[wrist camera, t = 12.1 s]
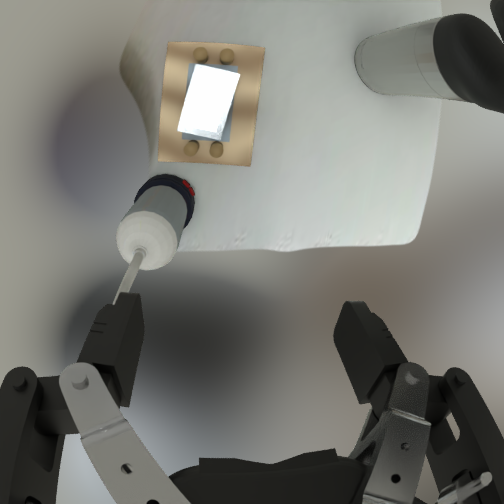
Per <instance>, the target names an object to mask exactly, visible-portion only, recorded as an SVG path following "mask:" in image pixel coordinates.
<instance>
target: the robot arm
mask: <svg viewBox="0 0 504 504" xmlns="http://www.w3.org/2000/svg"><path fill="white" fill-rule="evenodd" d="M490 9H491V12H492V15H493V18H494V21H495V23H496V25H497V28H498V30H499V33H500V35H501V38H502V40H503V41H504V0H492V1H491V3H490ZM503 43H504V42H503ZM503 43H502V41H501V40H500V39H499V37H498V36H497V35H496V33H495V32H494V31H493V30H492V29H491V28H490V27H489V26H488V25H487V24H486V23H485V22H483V21H482V20H481V19H479V18H477V17H475V16H473V15H469V14H454V15H449V16H444V17H439V18H435V19H430V20H427V21H423V22H419V23H415V24H411V25H408V26H404V27H401V28H397V29H394V30H391V31H387V32H384V33H381V34H378V35H375V36H372V37H369V38H367V39H365V40H364V41H362V42H361V43H360V44H359V46H358V48H357V50H356V54H355V64H356V69H357V71H358V74H359V76H360V78H361V79H362V81H363V82H364V83H365V84H366V85H367V86H368V87H369V88H370V89H371V90H373V91H375V92H377V93H380V94H383V95H400V96H417V97H429V98H440V99H448V100H457V101H464V102H470V103H475V104H477V105H479V106H480V107H483V108H485V109H489V110H493V111H497V112H500V113H504V44H503ZM144 334H145V325H144V318H143V310H142V303H141V296H140V294H139V293H128V292H120V293H119V295H118V298H117V300H116V302H115V305H113V304H107V305H105V307H103V308H102V309H101V310H100V311H99V312H98V314H97V316H96V318H95V320H94V324H93V325H92V327H91V329H90V332H89V334H88V336H87V338H86V341H85V343H84V346H83V348H82V350H81V353H80V355H79V358H78V360H77V362H76V363H74V364H71V365H69V366H68V367H66V368H65V369H64V370H63V371H62V373H61V375H59V376H52V377H37V376H36V374H35V373H34V371H33V370H31V369H30V368H28V367H17V368H14V369H12V370H11V371H10V372H8V373H7V375H6V376H5V378H4V380H3V383H2V385H1V388H0V504H56V494H57V485H58V477H59V469H60V463H61V456H62V451H63V445H64V439H65V435H66V434H78V433H80V435H81V442H82V445H83V447H84V449H85V451H86V453H87V455H88V456H89V458H90V460H91V462H92V464H93V466H94V468H95V469H96V471H97V473H98V474H99V476H100V478H101V480H102V481H103V483H104V485H105V486H106V488H107V489H108V491H109V493H110V494H111V496H112V497H113V499H114V500H115V502H116V503H117V504H427V503H425V502H423V501H422V500H420V499H418V498H416V497H415V493H416V489H417V486H418V482H419V478H420V474H421V471H422V467H423V463H424V458H425V454H426V456H427V459H428V461H429V464H430V467H431V470H432V473H433V476H434V478H435V482H436V485H437V488H438V491H439V497H438V501H436V502H435V504H504V439H503V437H502V434H501V432H500V430H499V429H498V426H497V424H496V423H495V421H494V419H493V417H492V415H491V413H490V411H489V409H488V407H487V406H486V404H485V402H484V400H483V398H482V397H481V395H480V393H479V391H478V390H477V388H476V386H475V384H474V383H473V381H472V379H471V378H470V376H469V375H468V374H467V373H466V372H465V371H464V370H462V369H460V368H456V367H453V368H450V369H448V370H447V372H446V373H445V374H444V376H432V375H428V373H427V372H426V370H425V369H424V368H423V367H422V366H420V365H418V364H416V363H412V362H408V361H407V359H406V357H405V356H404V354H403V352H402V350H401V349H400V347H399V346H398V344H397V342H396V341H395V339H394V338H393V337H392V334H391V333H390V331H388V328H387V326H386V325H385V323H384V322H383V320H382V319H381V318H379V317H378V316H377V315H376V314H375V313H371V311H370V310H369V308H368V307H367V305H366V303H365V302H364V301H346V302H345V303H344V304H343V307H342V310H341V313H340V315H339V318H338V321H337V323H336V326H335V329H334V335H333V337H334V343H335V346H336V348H337V350H338V353H339V355H340V357H341V360H342V362H343V365H344V367H345V370H346V372H347V374H348V377H349V379H350V381H351V384H352V386H353V389H354V392H355V394H356V396H357V399H358V401H359V404H365V403H371V405H372V407H371V409H370V410H369V412H368V415H367V418H366V420H365V423H364V426H363V428H362V431H361V433H360V436H359V438H358V441H357V443H356V445H355V447H354V449H353V451H352V452H351V453H350V455H349V456H348V457H342V456H337V453H336V450H335V448H334V449H329V450H322V451H316V452H309V453H303V454H301V455H298V456H295V457H292V458H290V459H287V460H284V461H281V462H278V463H274V464H265V463H258V462H252V461H246V460H240V459H235V458H199V465H197V466H192V467H189V468H185V469H182V470H180V471H178V472H176V473H174V474H172V475H170V476H169V477H168V476H167V475H166V474H165V473H164V471H163V470H162V469H161V468H160V466H159V465H158V464H157V462H156V461H155V460H154V458H153V457H152V456H151V454H150V453H149V451H148V450H147V449H146V447H145V446H144V444H143V443H142V442H141V440H140V438H139V437H138V436H137V434H136V433H135V431H134V430H133V428H132V427H131V425H130V424H129V422H128V421H127V420H126V419H125V418H124V417H123V415H122V413H121V412H120V410H119V409H120V406H124V407H129V405H130V399H131V395H132V390H133V385H134V380H135V375H136V371H137V366H138V362H139V357H140V353H141V349H142V345H143V341H144ZM450 413H452V415H453V417H454V419H455V421H456V423H457V425H458V427H459V429H460V436H459V439H458V440H457V441H456V439H455V437H454V435H453V432H452V430H451V428H450V426H449V424H448V421H447V419H446V417H447V416H448V415H449V414H450Z"/></svg>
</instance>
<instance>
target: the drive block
mask: <svg viewBox="0 0 504 504" xmlns="http://www.w3.org/2000/svg"><path fill="white" fill-rule="evenodd" d="M239 76H240V74H238V73H234V72H230V71H226V70H221V69H217V68H213V67H208V66H203V65H198V64H196V65H195V68H194V72H193V75H192V78H191V81H190V85H189V88H188V92H187V95H186V99H185V102H184V106H183V110H182V113H181V117H180V121H179V125H178V129H177V131H180V132H185V133H190V134H194V135H199V136H203V137H208V138H212V139H216V140H220V139H221V136H222V132H223V129H224V125H225V122H226V118H227V115H228V112H229V108H230V105H231V102H232V98H233V95H234V92H235V89H236V86H237V82H238V79H239Z"/></svg>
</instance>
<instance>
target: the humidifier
mask: <svg viewBox="0 0 504 504" xmlns="http://www.w3.org/2000/svg"><path fill="white" fill-rule="evenodd" d="M194 195H195V193H194V191H193V189H192V187H190V184H189V183H188V182H187V181H186V180H185V179H184V180H183V179H181V178H179V177H177V176H175V175H169V174H162V175H156V176H154V177H153V178H151V179H149V180H148V181H147V182H146V183H145V184H144V185H143V186H142V187H141V188H140V189H139V191H138V193H137V195H136V197H135V200H134V205H133V206H132V207H131V209H130V210H129V211H128V213H127V214H126V215H125V216H124V218H123V219H122V220H121V223H120V225H119V227H118V230H117V238H116V241H117V245H118V249H119V252H120V253H121V255H122V257H123V258H124V259H125V260H126V261H127V262H128V263H129V264H130V265H129V267H128V269H127V272H126V274H125V276H124V278H123V280H122V282H121V285H120V287H119V290H118V292H117V295H116V297H115V299H114V302H113V305H115V302H116V300H117V298H118V295H119V293H120V292H128V293H129V290H130V287H131V285H132V283H133V281H134V279H135V276H136V274H137V272H138V270H139V269H144V270H153V269H157V268H160V267H162V266H164V265H166V264H167V263H168V262H169V261H170V260H171V259H172V258H173V256H174V255H175V253H176V251H177V249H178V246H179V242H180V238H181V235H182V231H183V229H184V228H185V227H186V226H187V225H188V223H189V221H190V219H191V218H192V214H193V210H194V204H195V201H194Z"/></svg>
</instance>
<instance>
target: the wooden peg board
mask: <svg viewBox="0 0 504 504" xmlns="http://www.w3.org/2000/svg"><path fill="white" fill-rule="evenodd" d="M264 52H265V48H263V47H255V46H246V45H236V44H224V43H207V42H168V47H167V55H166V63H165V71H164V80H163V90H162V101H161V113H160V128H159V147H158V161H164V162H191V163H210V164H225V165H238V166H250V165H251V157H252V148H253V140H254V132H255V124H256V115H257V107H258V99H259V91H260V83H261V76H262V68H263V60H264ZM196 64H198V65H203V66H208V67H213V68H217V69H221V70H226V71H230V72H234V73H238V74H240V76H239V79H238V82H237V86H236V89H235V92H234V95H233V98H232V102H231V105H230V108H229V112H228V115H227V118H226V122H225V125H224V129H223V132H222V136H221V139H220V140H216V139H212V138H208V137H203V136H199V135H194V134H190V133H185V132H180V131H177V129H178V125H179V121H180V117H181V113H182V110H183V106H184V102H185V99H186V95H187V92H188V88H189V85H190V81H191V78H192V75H193V72H194V68H195V65H196Z"/></svg>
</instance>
